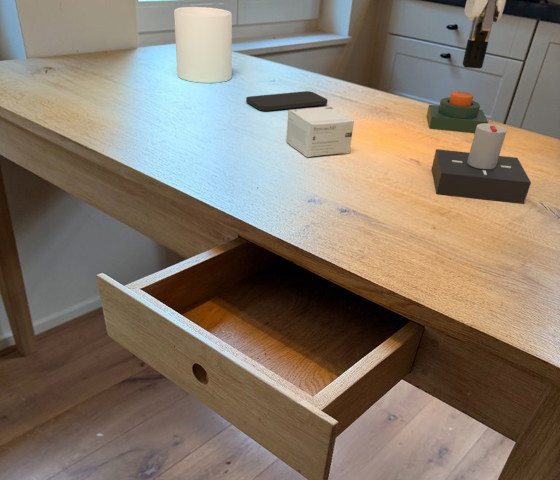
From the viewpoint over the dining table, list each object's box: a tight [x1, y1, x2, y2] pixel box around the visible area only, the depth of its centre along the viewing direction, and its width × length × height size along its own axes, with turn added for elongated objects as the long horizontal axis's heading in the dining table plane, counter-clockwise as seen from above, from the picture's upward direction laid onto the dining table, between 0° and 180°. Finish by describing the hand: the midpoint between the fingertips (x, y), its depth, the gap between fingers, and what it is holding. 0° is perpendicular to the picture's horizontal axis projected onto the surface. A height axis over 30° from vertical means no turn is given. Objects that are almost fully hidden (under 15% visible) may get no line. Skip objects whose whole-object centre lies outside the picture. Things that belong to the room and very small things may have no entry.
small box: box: [285, 106, 355, 158], centre depth 89 cm, size 8×8×5 cm
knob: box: [467, 122, 508, 169], centre depth 78 cm, size 4×4×5 cm
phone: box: [245, 90, 328, 112], centre depth 109 cm, size 7×1×15 cm
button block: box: [426, 97, 489, 134], centre depth 104 cm, size 10×8×4 cm
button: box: [449, 91, 474, 106], centre depth 102 cm, size 4×4×2 cm
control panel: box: [431, 149, 532, 204], centre depth 81 cm, size 12×10×3 cm
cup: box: [173, 6, 233, 84], centre depth 118 cm, size 12×12×12 cm
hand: (472, 66), depth 98 cm, fingers closed
